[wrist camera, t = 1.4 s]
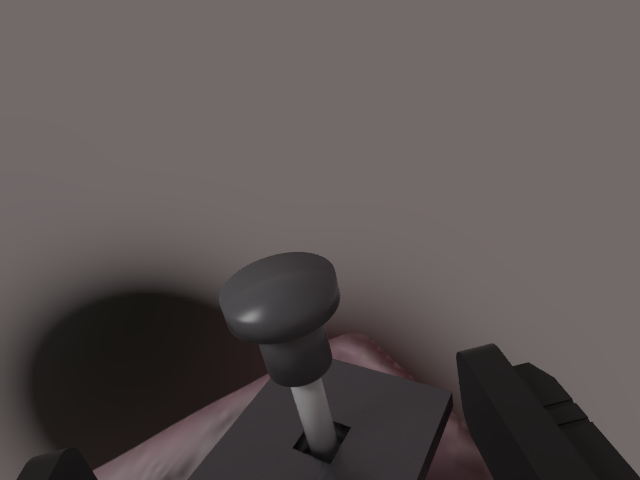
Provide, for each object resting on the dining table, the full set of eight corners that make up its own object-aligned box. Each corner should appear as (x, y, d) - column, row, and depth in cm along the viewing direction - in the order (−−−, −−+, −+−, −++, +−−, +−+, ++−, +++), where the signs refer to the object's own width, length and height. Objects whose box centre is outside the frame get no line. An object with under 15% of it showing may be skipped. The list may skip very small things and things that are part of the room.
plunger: (260, 471, 24) (194, 308, 19) (310, 400, 28) (266, 247, 23) (343, 511, 22) (292, 332, 16) (386, 426, 25) (355, 259, 20)
